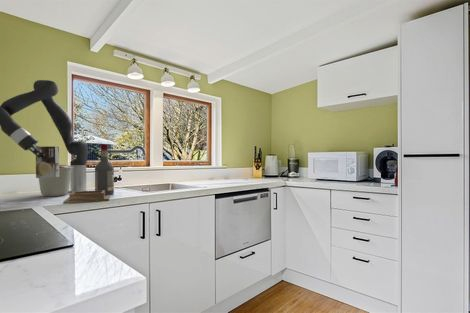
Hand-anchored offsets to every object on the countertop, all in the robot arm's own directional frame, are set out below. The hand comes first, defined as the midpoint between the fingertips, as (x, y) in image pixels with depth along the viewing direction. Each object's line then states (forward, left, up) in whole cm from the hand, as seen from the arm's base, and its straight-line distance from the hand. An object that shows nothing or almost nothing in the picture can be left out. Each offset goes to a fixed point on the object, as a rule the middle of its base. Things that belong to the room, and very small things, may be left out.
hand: (51, 162), depth 145 cm
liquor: (-12, +25, -20) cm, 34 cm away
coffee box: (0, -2, -8) cm, 8 cm away
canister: (-22, -2, -20) cm, 30 cm away
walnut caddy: (+6, +18, -20) cm, 27 cm away
